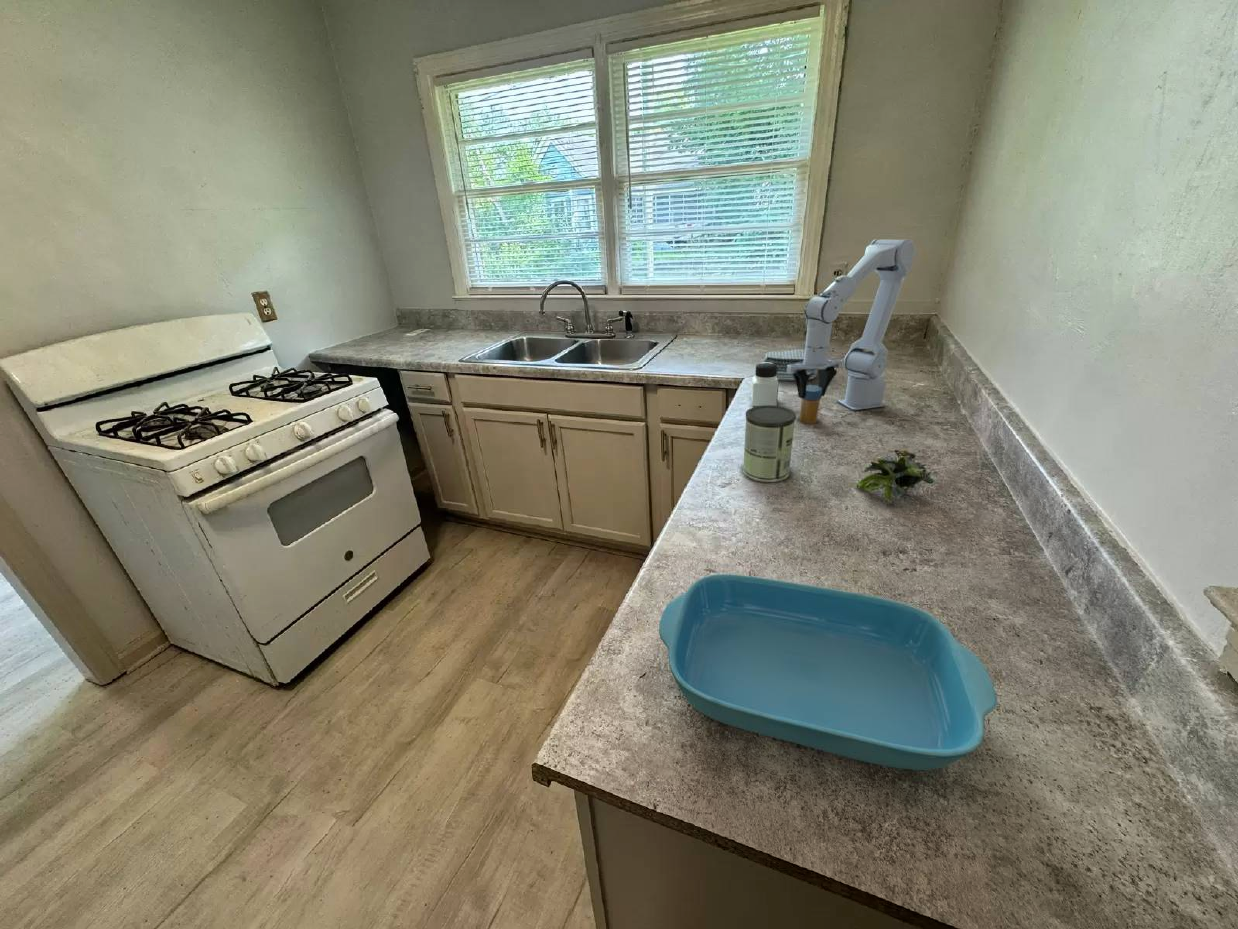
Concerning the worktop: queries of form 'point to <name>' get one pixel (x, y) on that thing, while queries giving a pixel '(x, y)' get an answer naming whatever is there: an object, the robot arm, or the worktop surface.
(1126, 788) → the worktop surface
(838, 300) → the robot arm
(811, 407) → the honey jar
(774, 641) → the casserole dish
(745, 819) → the worktop surface
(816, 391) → the jar lid
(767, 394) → the medicine bottle
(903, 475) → the green leafy plant
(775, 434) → the coffee can
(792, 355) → the towel
